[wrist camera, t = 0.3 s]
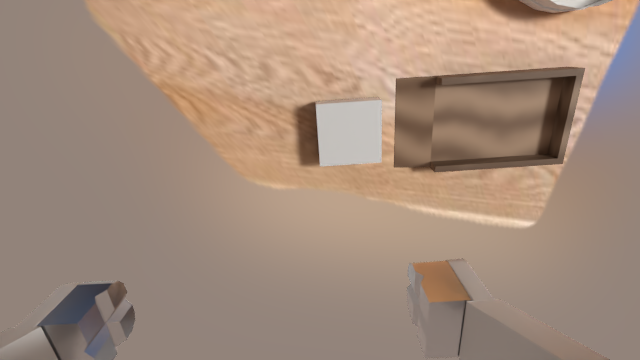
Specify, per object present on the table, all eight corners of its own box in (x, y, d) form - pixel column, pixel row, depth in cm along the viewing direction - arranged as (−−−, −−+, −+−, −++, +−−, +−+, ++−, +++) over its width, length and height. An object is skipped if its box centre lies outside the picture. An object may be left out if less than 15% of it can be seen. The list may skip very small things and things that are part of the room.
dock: (395, 78, 52) (401, 81, 48) (565, 66, 51) (585, 68, 48) (393, 166, 57) (398, 174, 54) (546, 156, 57) (562, 163, 53)
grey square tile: (315, 100, 52) (315, 104, 49) (377, 96, 52) (381, 99, 49) (319, 158, 56) (320, 166, 53) (377, 154, 56) (381, 162, 52)
